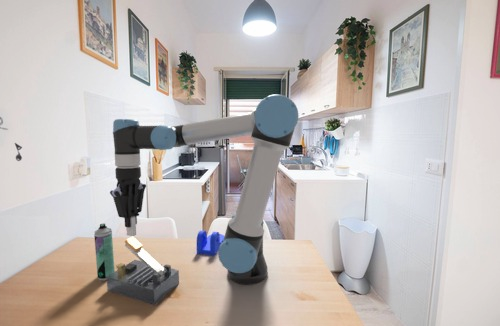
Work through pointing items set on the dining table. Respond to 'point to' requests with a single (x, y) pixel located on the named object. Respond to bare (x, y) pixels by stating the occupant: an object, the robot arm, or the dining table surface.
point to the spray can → (104, 252)
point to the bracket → (208, 242)
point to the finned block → (142, 282)
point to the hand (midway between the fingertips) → (131, 234)
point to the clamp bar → (144, 256)
